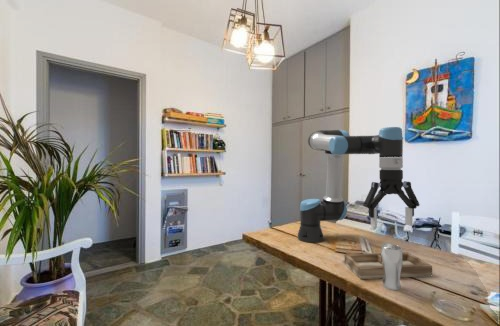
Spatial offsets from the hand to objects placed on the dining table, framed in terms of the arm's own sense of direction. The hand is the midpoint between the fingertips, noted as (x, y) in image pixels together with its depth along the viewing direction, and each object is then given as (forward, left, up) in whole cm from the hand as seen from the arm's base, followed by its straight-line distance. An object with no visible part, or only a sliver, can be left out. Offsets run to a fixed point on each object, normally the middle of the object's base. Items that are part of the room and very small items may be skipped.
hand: (391, 225), depth 90 cm
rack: (-13, +6, -23) cm, 27 cm away
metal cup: (0, 0, -23) cm, 23 cm away
